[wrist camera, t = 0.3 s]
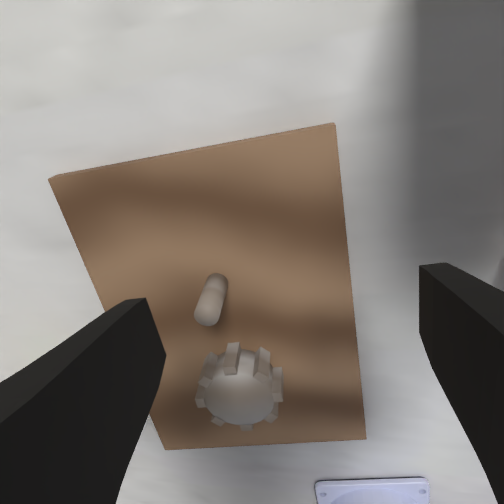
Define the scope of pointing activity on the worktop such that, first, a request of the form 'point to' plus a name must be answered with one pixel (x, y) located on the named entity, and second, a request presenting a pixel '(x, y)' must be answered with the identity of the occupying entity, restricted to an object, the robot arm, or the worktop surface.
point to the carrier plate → (232, 284)
